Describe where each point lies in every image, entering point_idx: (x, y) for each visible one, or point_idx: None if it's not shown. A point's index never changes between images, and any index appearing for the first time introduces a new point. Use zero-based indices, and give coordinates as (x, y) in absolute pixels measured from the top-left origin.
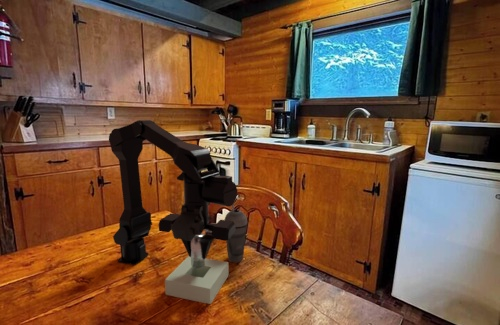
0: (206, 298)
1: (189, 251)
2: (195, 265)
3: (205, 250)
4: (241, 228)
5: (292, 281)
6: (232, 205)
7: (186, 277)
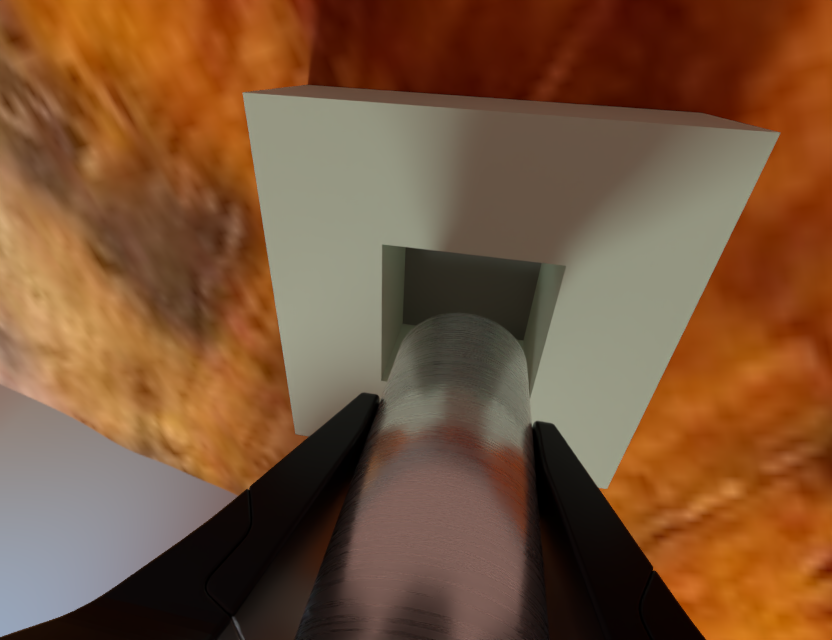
0: (322, 89)
1: (551, 475)
2: (459, 329)
3: (280, 474)
4: None
5: (39, 358)
6: None
7: (534, 220)
